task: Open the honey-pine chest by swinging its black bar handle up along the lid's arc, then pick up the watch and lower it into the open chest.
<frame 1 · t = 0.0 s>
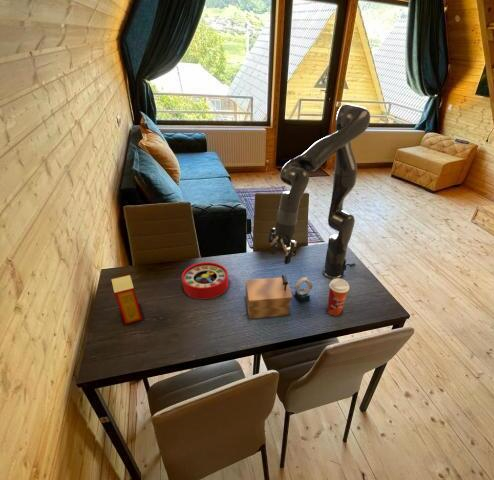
hand: (279, 258, 126), 22 cm above the table, tool pointing down, fingers open, 8 cm apart
chest: (266, 305, 136), on the table
baking soda box: (132, 314, 127), on the table
toy clock: (206, 285, 145), on the table
watch: (302, 298, 142), on the table
coffee cup: (334, 311, 136), on the table
lid: (268, 284, 129), point 12 cm above the table, hinge at 0.0°
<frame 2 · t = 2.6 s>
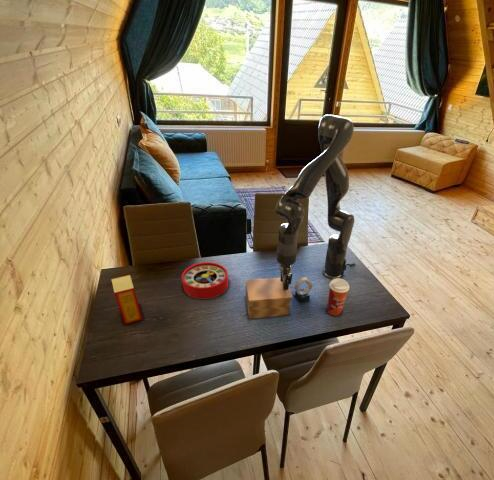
hand: (284, 284, 131), 11 cm above the table, tool pointing down, fingers closed on lid, 5 cm apart
lid: (268, 284, 129), point 12 cm above the table, hinge at -0.1°, touching gripper
everything else where it was.
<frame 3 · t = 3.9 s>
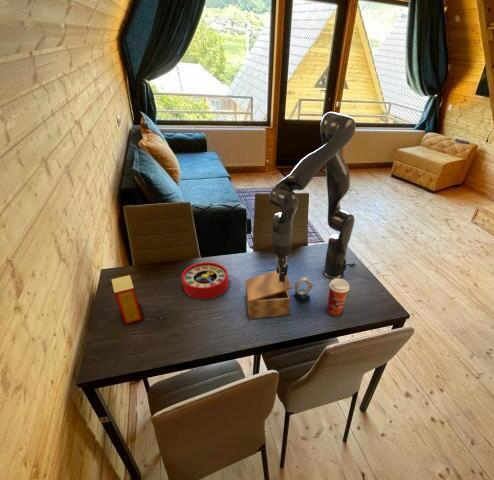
hand: (280, 276, 128), 15 cm above the table, tool pointing down, fingers closed on lid, 5 cm apart
lid: (266, 280, 127), point 14 cm above the table, hinge at 16.7°, touching gripper
everything else where it was.
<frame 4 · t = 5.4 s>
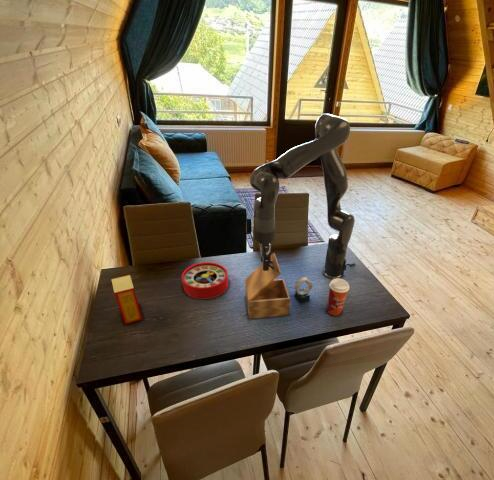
hand: (264, 265, 123), 21 cm above the table, tool pointing down, fingers closed on lid, 5 cm apart
lid: (257, 273, 125), point 17 cm above the table, hinge at 47.4°, touching gripper
everything else where it was.
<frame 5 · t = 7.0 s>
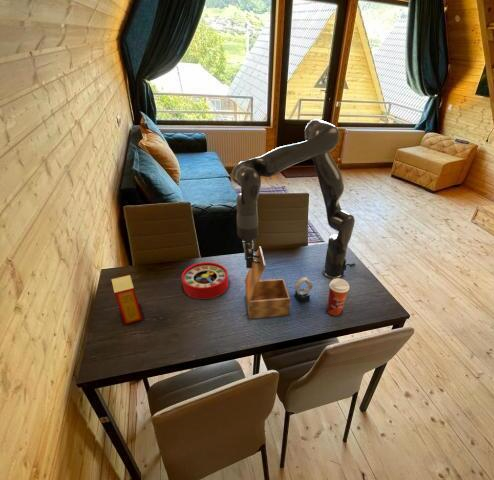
hand: (248, 263, 121), 23 cm above the table, tool pointing down, fingers closed on lid, 5 cm apart
lid: (248, 272, 123), point 18 cm above the table, hinge at 70.1°, touching gripper
everything else where it was.
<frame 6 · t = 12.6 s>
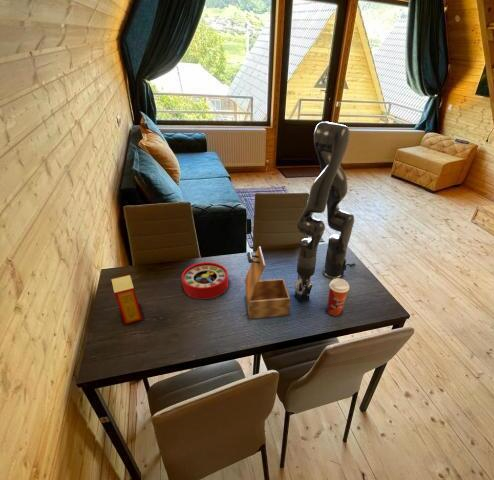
hand: (302, 294, 139), 3 cm above the table, tool pointing down, fingers closed on watch, 5 cm apart
watch: (301, 298, 142), on the table, touching gripper
lid: (248, 272, 123), point 18 cm above the table, hinge at 70.5°
everything else where it was.
when the fingers open (5 cm above the table, at t = 21.8 s): watch stays where it is, resting on chest.
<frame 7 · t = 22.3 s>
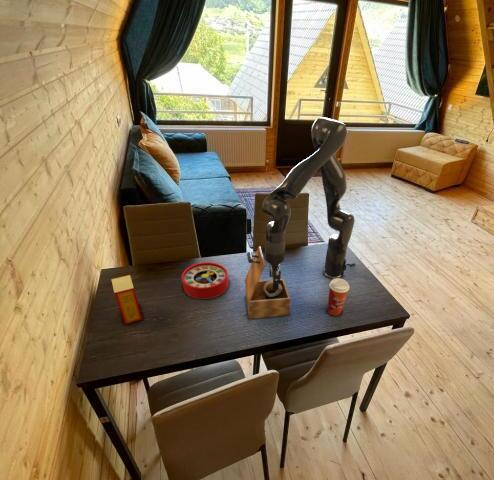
hand: (273, 282, 129), 12 cm above the table, tool pointing down, fingers open, 8 cm apart
watch: (272, 300, 138), point 1 cm above the table, touching chest
everything else where it was.
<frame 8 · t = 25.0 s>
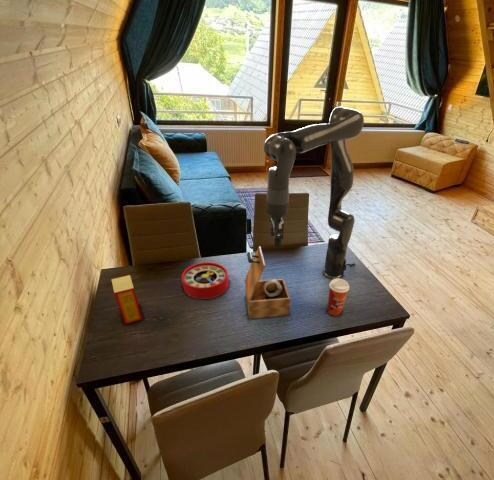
hand: (275, 240, 117), 32 cm above the table, tool pointing down, fingers open, 8 cm apart
nothing on the table moved.
at the end: lid at +70° (first picture: +0°); watch inside the target area in the chest (3.5 cm from its centre), point 0.7 cm above the chest's base; the gripper is holding nothing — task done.
